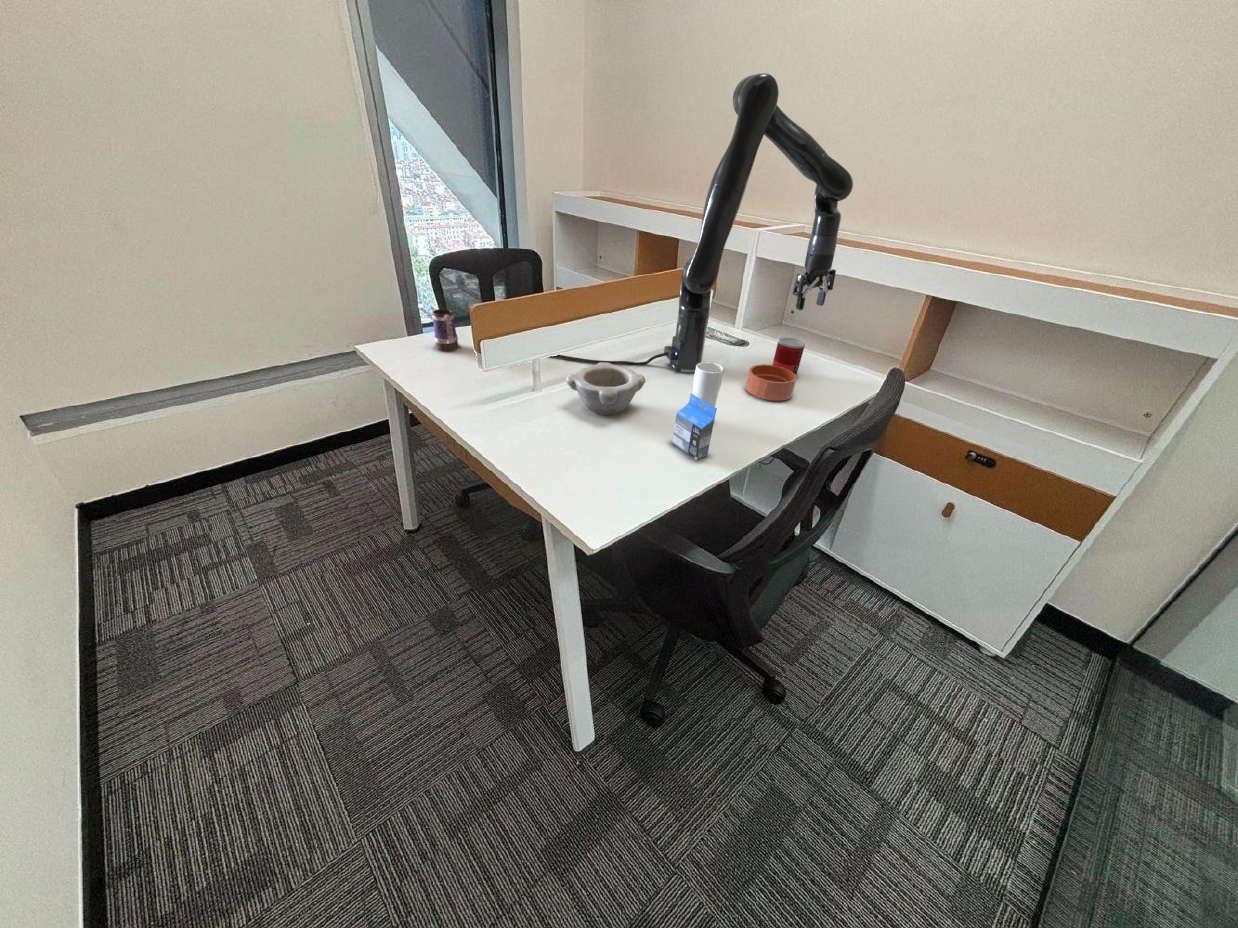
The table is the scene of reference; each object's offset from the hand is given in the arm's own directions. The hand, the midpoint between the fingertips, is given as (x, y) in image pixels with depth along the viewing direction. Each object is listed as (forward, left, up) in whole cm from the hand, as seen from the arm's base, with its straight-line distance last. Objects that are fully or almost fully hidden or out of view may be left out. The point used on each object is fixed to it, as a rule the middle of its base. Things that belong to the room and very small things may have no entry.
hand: (809, 307), depth 152 cm
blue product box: (-56, -38, -21) cm, 71 cm away
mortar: (-69, -13, -21) cm, 73 cm away
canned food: (-6, -3, -21) cm, 22 cm away
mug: (-106, +37, -21) cm, 114 cm away
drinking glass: (-47, -26, -21) cm, 57 cm away
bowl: (-19, -14, -20) cm, 31 cm away
